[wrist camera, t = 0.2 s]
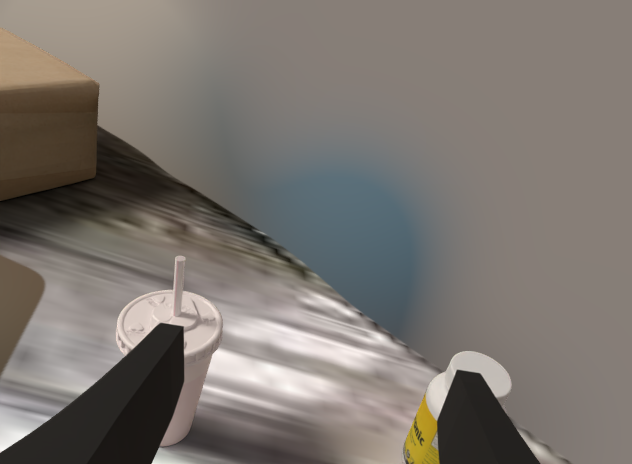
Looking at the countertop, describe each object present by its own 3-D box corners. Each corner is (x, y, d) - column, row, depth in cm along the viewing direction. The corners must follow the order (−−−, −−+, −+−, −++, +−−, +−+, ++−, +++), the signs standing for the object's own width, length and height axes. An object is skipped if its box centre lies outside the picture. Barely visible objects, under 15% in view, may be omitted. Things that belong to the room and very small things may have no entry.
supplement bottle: (410, 423, 39) (449, 331, 35) (476, 456, 38) (527, 365, 33) (390, 477, 35) (433, 380, 30) (465, 517, 33) (522, 421, 29)
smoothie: (225, 407, 37) (248, 254, 31) (181, 479, 32) (197, 313, 25) (151, 377, 38) (157, 223, 32) (96, 442, 33) (89, 273, 26)
